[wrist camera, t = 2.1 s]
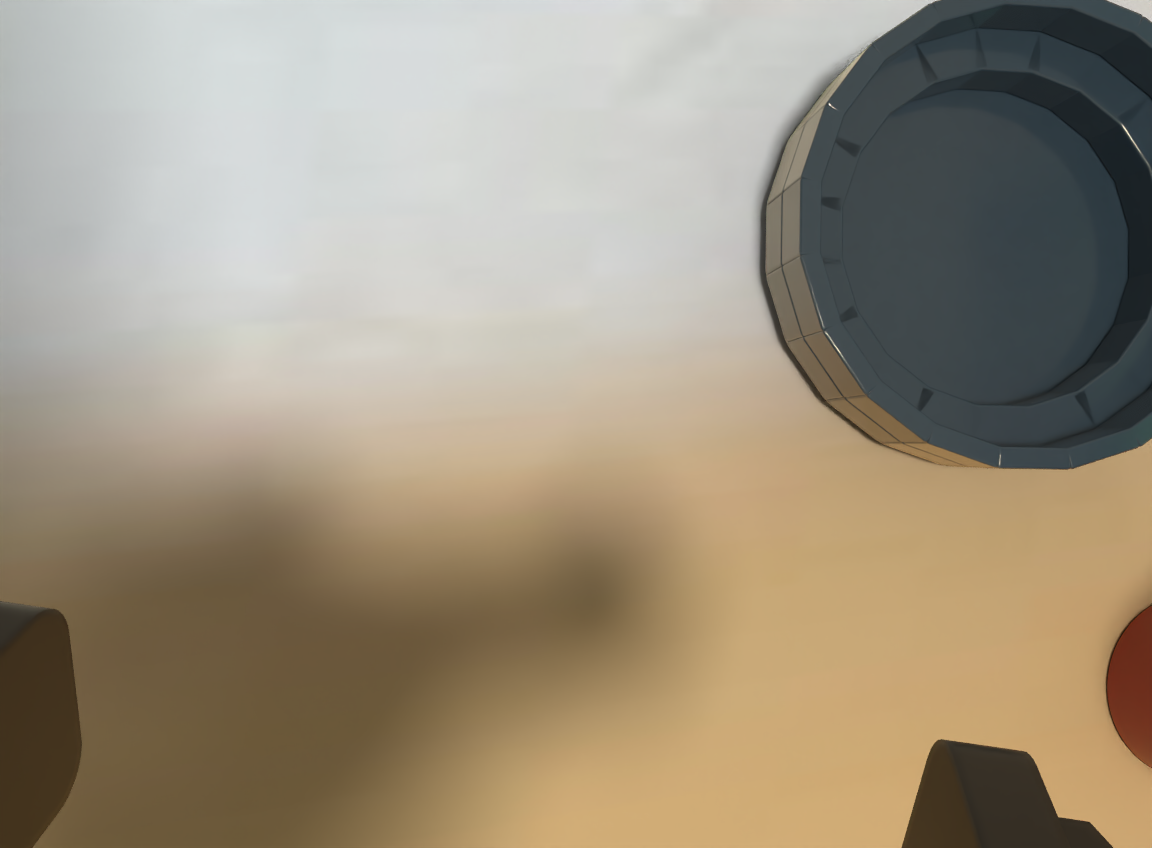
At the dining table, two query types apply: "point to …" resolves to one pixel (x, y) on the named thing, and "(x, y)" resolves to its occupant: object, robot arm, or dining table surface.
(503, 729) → the dining table surface
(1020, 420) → the bowl
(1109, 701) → the candle
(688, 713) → the dining table surface
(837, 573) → the dining table surface
